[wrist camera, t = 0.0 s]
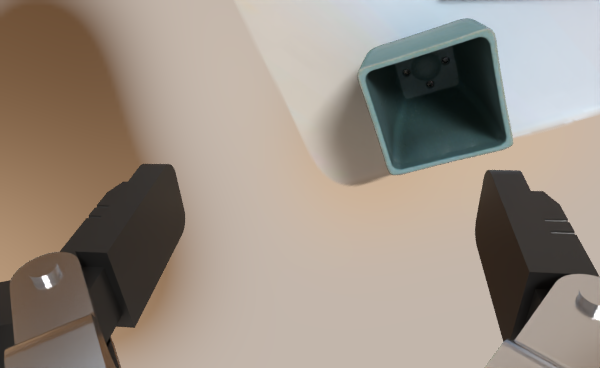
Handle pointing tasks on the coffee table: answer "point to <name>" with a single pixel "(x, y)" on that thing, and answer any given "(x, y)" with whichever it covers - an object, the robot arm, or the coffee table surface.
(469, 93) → the flower pot
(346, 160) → the coffee table surface
